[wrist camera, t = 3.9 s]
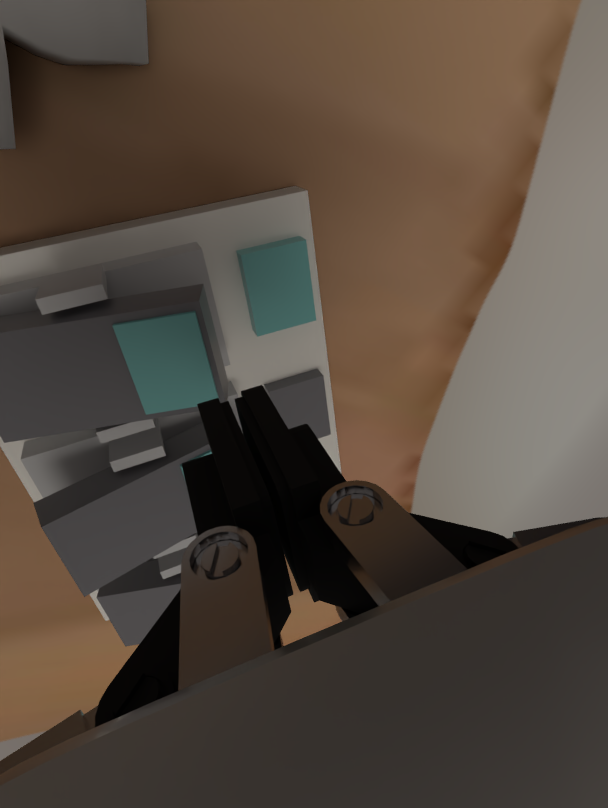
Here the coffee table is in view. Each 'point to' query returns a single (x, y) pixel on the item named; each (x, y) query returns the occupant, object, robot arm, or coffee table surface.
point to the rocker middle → (123, 514)
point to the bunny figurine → (70, 38)
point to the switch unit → (230, 309)
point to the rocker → (138, 600)
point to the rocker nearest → (108, 363)
